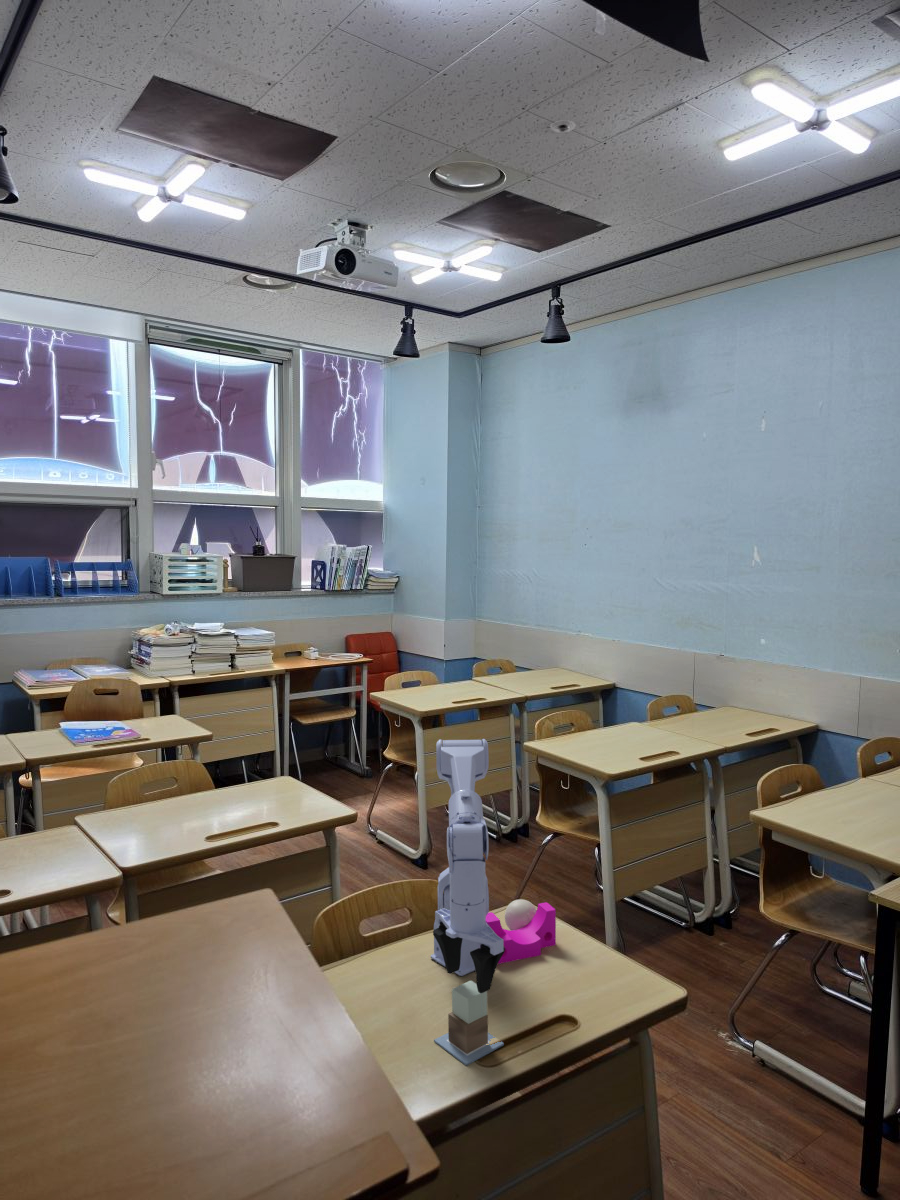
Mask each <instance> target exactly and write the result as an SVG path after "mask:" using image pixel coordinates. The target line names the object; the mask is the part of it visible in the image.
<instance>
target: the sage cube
mask: <svg viewBox="0 0 900 1200" xmlns="http://www.w3.org/2000/svg"><path fill="white" fill-rule="evenodd" d="M451 1010H452V1011H451V1012H452V1013H453V1014H455V1015H456V1016H458V1017H459V1018H460V1019H462V1020H463V1021H465V1022H466V1023H468V1024H469V1023H471V1022H473V1021H475V1020H477V1019H479V1018H481V1017H483V1016H485V1015H488V991H486V992H484V993H479V992H478V989H477V982H475V981H473V980H468V981H467V982H465V983H462V984H460V985H457V986H455V987H453V988H452V989H451Z"/></svg>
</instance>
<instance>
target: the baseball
mask: <svg viewBox="0 0 900 1200" xmlns="http://www.w3.org/2000/svg"><path fill="white" fill-rule="evenodd" d="M536 911H537V908H536V906H535V905H534V904H533V903H532V902H531V901H529V900H526V899H515V900H513V901H511V902H510V903H508V905H507V907H506V909H505V912H504V921H505V925H506V926H507V928H508V930H518V929H521V928H523V927H524V926H526V925H527V924H528V923H529V922H530V921H531V920H532V919H533V917H534V916H535V914H536Z"/></svg>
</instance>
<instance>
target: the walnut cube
mask: <svg viewBox="0 0 900 1200" xmlns="http://www.w3.org/2000/svg"><path fill="white" fill-rule="evenodd" d="M447 1016H448V1019H447V1020H448V1029H447V1031H448V1033H449V1041H450V1042H451V1043H452V1044H454V1045H455V1046H456V1047H458V1048H459V1049H461V1050H462V1051H463V1052H465V1053H466V1054H468V1053H470V1052H471V1051H473V1050H475V1049H477V1048H479V1047H481V1046H483V1045H484V1044H486V1043H488V1033H489V1030H488V1029H489V1026H488V1025H489V1019H488V1017H489V1015H488V1014H487V1015H485V1016H483V1017H481V1018H479V1019H477V1020H475V1021H473V1022H471V1023H469V1024H468V1023H466V1022H465V1021H463V1020H462V1019H460V1018H459V1017H458V1016H456V1015H455V1014H453V1013H452V1011H451V1012H449V1013H448V1015H447Z"/></svg>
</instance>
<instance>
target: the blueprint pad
mask: <svg viewBox="0 0 900 1200" xmlns="http://www.w3.org/2000/svg"><path fill="white" fill-rule="evenodd" d="M493 1036H494V1035H492V1034H491V1033H490V1032H488V1043H486V1044H489V1041H491V1040H490V1039H492V1038H496V1037H495V1036H494V1037H493ZM433 1042H434V1043H435V1044H436V1045H438V1046H439V1047H440V1048H442V1049H443V1050H444V1051H446V1052H448V1053H449V1054H450V1055H452V1056H453V1057H454V1058H456V1060H458V1061H459V1062H461V1063H462V1064H463V1065H464V1066H469V1065H470V1064H472V1063H474V1062H475V1061H477V1060H479V1059H481V1058H483V1057H485V1056H486V1055H488V1054H490V1053H492V1052H494V1051H495V1050H498V1049H500V1048H501V1047H503V1046H505V1043H504V1041H501V1042H497V1043H495V1044H492V1045H490V1044H489V1045H486V1044H484V1045H483V1046H481V1047H479V1048H477V1049H475V1050H473V1051H471V1052H470V1053H468V1054H466V1053H465V1052H463V1051H462V1050H461V1049H459V1048H458V1047H456V1046H455V1045H454V1044H452V1043H451V1042H450V1041H449V1032H447V1033H445V1034H442V1035H441V1036H439V1037H436V1038H435V1039H433Z"/></svg>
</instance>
